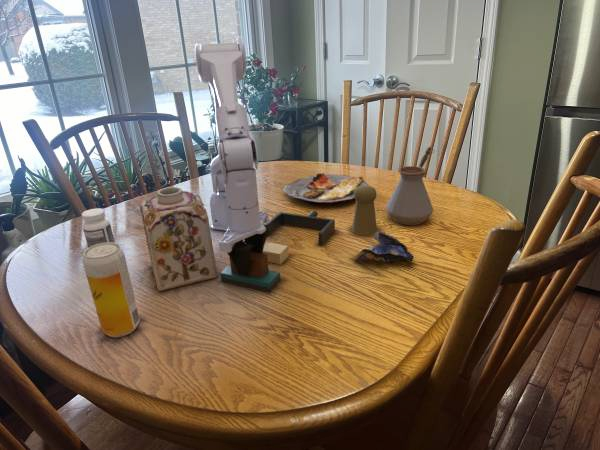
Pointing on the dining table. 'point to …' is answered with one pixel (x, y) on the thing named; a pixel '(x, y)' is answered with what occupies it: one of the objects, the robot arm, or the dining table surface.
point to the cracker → (276, 252)
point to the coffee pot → (411, 196)
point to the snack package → (385, 249)
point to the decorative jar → (178, 238)
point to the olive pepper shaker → (364, 211)
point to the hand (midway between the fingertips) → (249, 268)
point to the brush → (253, 274)
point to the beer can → (111, 288)
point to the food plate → (324, 188)
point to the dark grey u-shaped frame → (304, 223)
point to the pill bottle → (96, 227)
